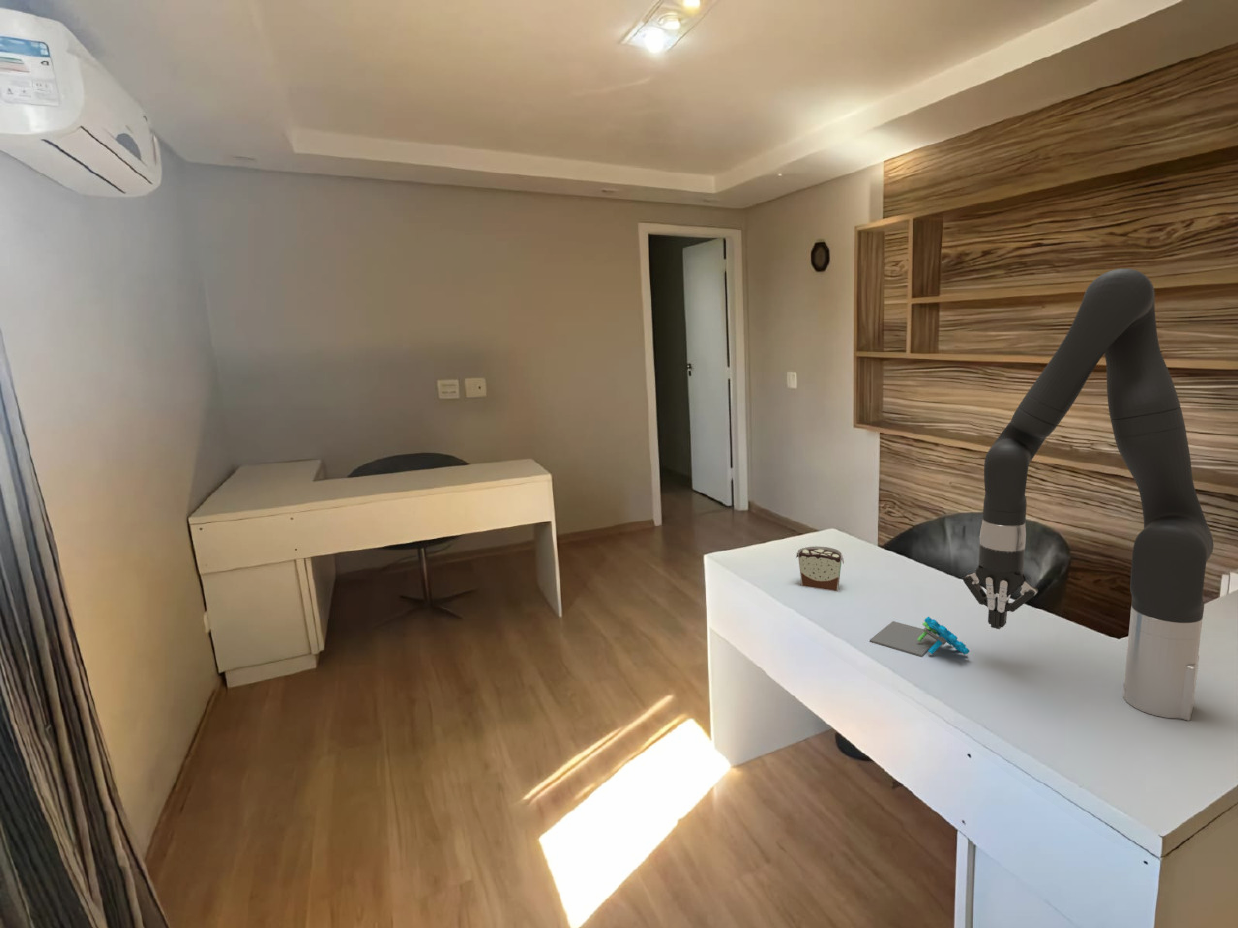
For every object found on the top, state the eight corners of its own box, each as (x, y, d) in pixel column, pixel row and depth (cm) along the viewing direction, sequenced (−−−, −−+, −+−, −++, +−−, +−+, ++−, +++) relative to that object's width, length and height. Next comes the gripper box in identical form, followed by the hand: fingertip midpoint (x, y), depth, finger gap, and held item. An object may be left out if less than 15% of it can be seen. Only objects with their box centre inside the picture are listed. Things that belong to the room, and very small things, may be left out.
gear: (980, 657, 129) (953, 627, 126) (960, 678, 129) (932, 648, 126) (943, 633, 139) (917, 605, 137) (924, 653, 139) (897, 625, 137)
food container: (849, 584, 172) (849, 548, 170) (843, 592, 166) (843, 556, 165) (803, 578, 178) (802, 543, 176) (796, 585, 173) (795, 550, 171)
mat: (943, 635, 140) (943, 634, 140) (921, 656, 132) (921, 655, 132) (892, 622, 148) (892, 620, 148) (869, 641, 140) (869, 639, 140)
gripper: (1047, 544, 121) (1040, 630, 124) (971, 532, 130) (966, 611, 134) (1036, 555, 116) (1029, 644, 119) (958, 541, 125) (953, 624, 129)
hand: (996, 626), depth 127 cm, fingers closed
